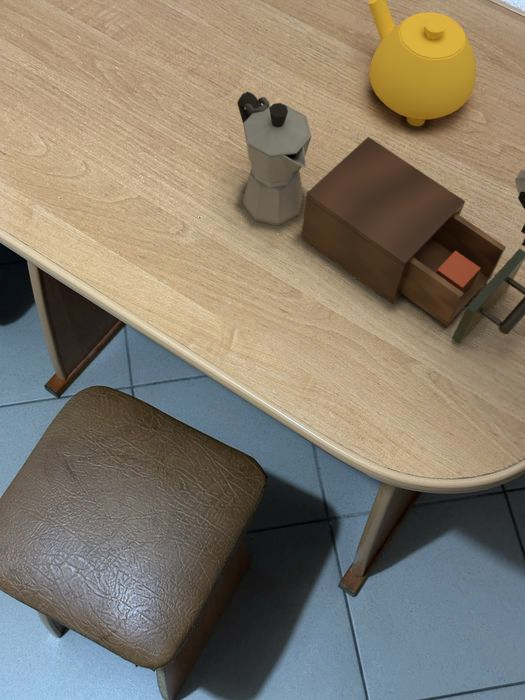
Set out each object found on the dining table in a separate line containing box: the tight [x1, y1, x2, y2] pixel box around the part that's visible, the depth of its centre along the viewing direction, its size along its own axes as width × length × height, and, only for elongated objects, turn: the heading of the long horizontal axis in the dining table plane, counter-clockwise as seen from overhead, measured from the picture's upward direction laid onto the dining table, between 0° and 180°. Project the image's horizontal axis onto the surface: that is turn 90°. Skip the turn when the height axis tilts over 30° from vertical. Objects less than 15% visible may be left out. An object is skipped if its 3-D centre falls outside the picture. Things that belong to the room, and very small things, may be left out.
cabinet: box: [301, 136, 466, 305], centre depth 111 cm, size 16×13×10 cm
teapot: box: [367, 0, 477, 127], centre depth 123 cm, size 20×16×14 cm
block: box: [436, 251, 481, 294], centre depth 108 cm, size 4×4×4 cm
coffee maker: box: [236, 91, 312, 227], centre depth 111 cm, size 15×9×18 cm, turn 33°
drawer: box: [399, 213, 525, 344], centre depth 107 cm, size 19×12×8 cm, turn 49°
